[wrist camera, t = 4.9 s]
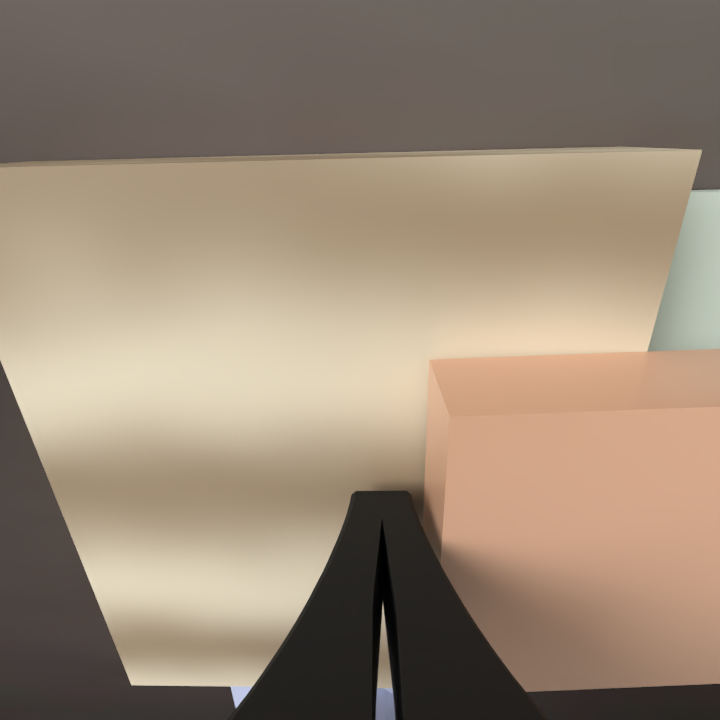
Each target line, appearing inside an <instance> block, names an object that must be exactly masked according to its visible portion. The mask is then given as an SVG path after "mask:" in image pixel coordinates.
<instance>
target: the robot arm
mask: <svg viewBox="0 0 720 720" xmlns="http://www.w3.org/2000/svg"><path fill="white" fill-rule="evenodd" d="M382 606H383V607H384V616H385V625H386V634H387V643H388V653H389V662H390V671H391V680H392V688H377V681H378V666H379V652H380V637H381V622H382ZM230 687H231V691H232V695H233V699H234V703H235V707H236V709H235V711H234V712H233V713H232V714H231V716H230V717H229V718H228V720H548V718H547V717H546V716H545V715H544V714H543V712H542V711H541V710H540V709H539V707H538V706H537V705H536V704H535V702H534V701H533V700H532V699H531V697H530V696H529V695H528V694H527V692H526V691H525V690H524V689H523V687H522V686H521V685H520V684H519V682H518V681H517V680H516V679H515V678H514V676H513V675H512V674H511V672H510V671H509V670H508V668H507V667H506V666H505V664H504V663H503V662H502V660H501V659H500V657H499V656H498V655H497V653H496V652H495V651H494V649H493V648H492V646H491V645H490V644H489V642H488V641H487V639H486V638H485V636H484V635H483V633H482V632H481V630H480V629H479V628H478V626H477V625H476V623H475V622H474V620H473V618H472V617H471V615H470V614H469V612H468V611H467V609H466V607H465V606H464V604H463V603H462V601H461V599H460V598H459V596H458V594H457V593H456V591H455V589H454V588H453V586H452V584H451V582H450V581H449V579H448V577H447V575H446V573H445V572H444V570H443V568H442V566H441V564H440V562H439V560H438V558H437V556H436V554H435V552H434V550H433V549H432V547H431V544H430V542H429V540H428V538H427V536H426V534H425V531H424V529H423V527H422V525H421V522H420V520H419V517H418V515H417V512H416V509H415V506H414V503H413V500H412V496H411V494H410V493H409V492H408V491H355V492H354V493H353V494H352V495H351V499H350V504H349V507H348V511H347V514H346V517H345V520H344V523H343V526H342V528H341V531H340V534H339V536H338V539H337V541H336V543H335V546H334V548H333V550H332V553H331V555H330V557H329V559H328V562H327V564H326V566H325V568H324V570H323V572H322V574H321V576H320V578H319V580H318V582H317V584H316V586H315V588H314V590H313V592H312V593H311V595H310V597H309V599H308V601H307V603H306V605H305V606H304V608H303V610H302V612H301V613H300V615H299V617H298V619H297V620H296V622H295V624H294V625H293V627H292V629H291V630H290V632H289V633H288V635H287V637H286V638H285V640H284V641H283V643H282V645H281V646H280V648H279V649H278V651H277V652H276V654H275V655H274V656H273V658H272V659H271V661H270V662H269V664H268V665H267V667H266V668H265V670H264V671H263V673H262V674H261V676H260V677H259V679H258V680H257V681H256V683H255V684H254V686H253V687H245V686H230Z"/></svg>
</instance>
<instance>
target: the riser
mask: <svg viewBox="0 0 720 720" xmlns="http://www.w3.org/2000/svg"><path fill="white" fill-rule="evenodd" d="M701 153H702V150H692V149H666V148H641V147H585V148H545V149H505V150H465V151H426V152H386V153H346V154H306V155H267V156H227V157H187V158H147V159H108V160H68V161H30V162H17V163H3V164H0V360H1V363H2V365H3V368H4V370H5V373H6V375H7V378H8V380H9V383H10V385H11V388H12V390H13V393H14V395H15V398H16V400H17V403H18V405H19V408H20V410H21V413H22V415H23V417H24V420H25V422H26V425H27V427H28V430H29V432H30V435H31V437H32V440H33V442H34V445H35V447H36V450H37V452H38V455H39V457H40V460H41V462H42V465H43V467H44V469H45V472H46V474H47V477H48V479H49V482H50V484H51V487H52V489H53V492H54V494H55V497H56V499H57V502H58V504H59V507H60V509H61V512H62V514H63V517H64V519H65V522H66V524H67V526H68V529H69V531H70V534H71V536H72V539H73V541H74V544H75V546H76V549H77V551H78V554H79V556H80V559H81V561H82V564H83V566H84V569H85V571H86V574H87V576H88V578H89V581H90V583H91V586H92V588H93V591H94V593H95V596H96V598H97V601H98V603H99V606H100V608H101V611H102V613H103V616H104V618H105V621H106V623H107V626H108V628H109V631H110V633H111V635H112V638H113V640H114V643H115V645H116V648H117V650H118V653H119V655H120V658H121V660H122V663H123V665H124V668H125V670H126V673H127V675H128V678H129V680H130V683H131V685H159V686H245V687H253V686H254V684H255V683H256V681H257V680H258V679H259V677H260V676H261V674H262V673H263V671H264V670H265V668H266V667H267V665H268V664H269V662H270V661H271V659H272V658H273V656H274V655H275V654H276V652H277V651H278V649H279V648H280V646H281V645H282V643H283V641H284V640H285V638H286V637H287V635H288V633H289V632H290V630H291V629H292V627H293V625H294V624H295V622H296V620H297V619H298V617H299V615H300V613H301V612H302V610H303V608H304V606H305V605H306V603H307V601H308V599H309V597H310V595H311V593H312V592H313V590H314V588H315V586H316V584H317V582H318V580H319V578H320V576H321V574H322V572H323V570H324V568H325V566H326V564H327V562H328V559H329V557H330V555H331V553H332V550H333V548H334V546H335V543H336V541H337V539H338V536H339V534H340V531H341V528H342V526H343V523H344V520H345V517H346V514H347V511H348V507H349V504H350V499H351V495H352V494H353V493H354V492H355V491H408V492H409V493H410V494H411V496H412V500H413V503H414V506H415V509H416V512H417V515H418V517H419V520H420V522H421V525H422V527H423V507H424V480H425V454H426V428H427V402H428V376H429V360H434V359H461V358H487V357H514V356H540V355H567V354H594V353H620V352H647V351H648V347H649V343H650V340H651V336H652V332H653V329H654V325H655V321H656V318H657V314H658V310H659V307H660V303H661V299H662V296H663V292H664V288H665V285H666V281H667V277H668V274H669V270H670V266H671V263H672V259H673V255H674V252H675V248H676V244H677V241H678V237H679V233H680V230H681V226H682V222H683V219H684V215H685V211H686V208H687V204H688V200H689V197H690V193H691V189H692V186H693V182H694V178H695V175H696V171H697V167H698V164H699V160H700V156H701ZM377 688H392V680H391V671H390V662H389V653H388V643H387V634H386V625H385V616H384V607H383V606H382V622H381V637H380V652H379V666H378V681H377Z"/></svg>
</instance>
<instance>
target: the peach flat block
mask: <svg viewBox="0 0 720 720" xmlns="http://www.w3.org/2000/svg"><path fill="white" fill-rule="evenodd" d="M423 529H424V531H425V534H426V536H427V538H428V540H429V542H430V544H431V547H432V549H433V550H434V552H435V554H436V556H437V558H438V560H439V562H440V564H441V566H442V568H443V570H444V572H445V573H446V575H447V577H448V579H449V581H450V582H451V584H452V586H453V588H454V589H455V591H456V593H457V594H458V596H459V598H460V599H461V601H462V603H463V604H464V606H465V607H466V609H467V611H468V612H469V614H470V615H471V617H472V618H473V620H474V622H475V623H476V625H477V626H478V628H479V629H480V630H481V632H482V633H483V635H484V636H485V638H486V639H487V641H488V642H489V644H490V645H491V646H492V648H493V649H494V651H495V652H496V653H497V655H498V656H499V657H500V659H501V660H502V662H503V663H504V664H505V666H506V667H507V668H508V670H509V671H510V672H511V674H512V675H513V676H514V678H515V679H516V680H517V681H518V682H519V684H520V685H521V686H522V687H523V689H524V690H525V691H526V692H534V691H557V690H581V689H604V688H628V687H651V686H675V685H699V684H720V349H700V350H673V351H647V352H620V353H594V354H567V355H540V356H514V357H487V358H461V359H434V360H429V376H428V402H427V428H426V454H425V480H424V507H423Z"/></svg>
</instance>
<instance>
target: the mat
mask: <svg viewBox="0 0 720 720" xmlns="http://www.w3.org/2000/svg"><path fill="white" fill-rule="evenodd" d="M700 349H720V190H691V193H690V197H689V200H688V204H687V208H686V211H685V215H684V219H683V222H682V226H681V230H680V233H679V237H678V241H677V244H676V248H675V252H674V255H673V259H672V263H671V266H670V270H669V274H668V277H667V281H666V285H665V288H664V292H663V296H662V299H661V303H660V307H659V310H658V314H657V318H656V321H655V325H654V329H653V332H652V336H651V340H650V343H649V347H648V351H673V350H700Z"/></svg>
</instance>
